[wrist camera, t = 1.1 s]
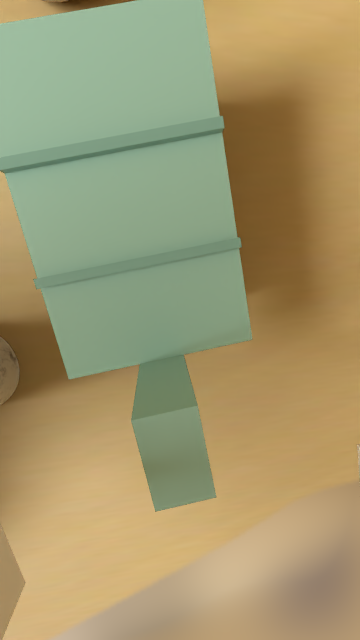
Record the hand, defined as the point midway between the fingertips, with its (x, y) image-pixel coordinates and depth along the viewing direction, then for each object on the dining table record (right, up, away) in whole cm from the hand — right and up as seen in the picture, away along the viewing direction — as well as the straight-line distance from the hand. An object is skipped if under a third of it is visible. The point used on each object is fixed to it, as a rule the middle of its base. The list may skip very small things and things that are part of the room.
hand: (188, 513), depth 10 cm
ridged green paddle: (-3, +12, +8) cm, 15 cm away
